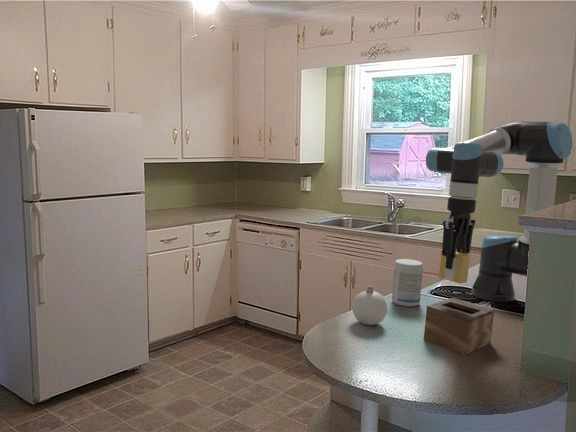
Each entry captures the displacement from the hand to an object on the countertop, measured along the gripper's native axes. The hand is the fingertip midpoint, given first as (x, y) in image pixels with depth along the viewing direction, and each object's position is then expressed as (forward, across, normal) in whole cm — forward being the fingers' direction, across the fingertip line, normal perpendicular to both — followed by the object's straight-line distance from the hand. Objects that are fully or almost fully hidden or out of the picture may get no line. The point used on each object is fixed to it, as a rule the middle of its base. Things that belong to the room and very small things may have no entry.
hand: (453, 278), depth 154 cm
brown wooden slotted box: (+17, +1, +4) cm, 18 cm away
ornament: (+18, +12, -20) cm, 29 cm away
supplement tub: (+17, -16, -26) cm, 35 cm away
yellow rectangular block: (0, 0, 0) cm, 0 cm away
